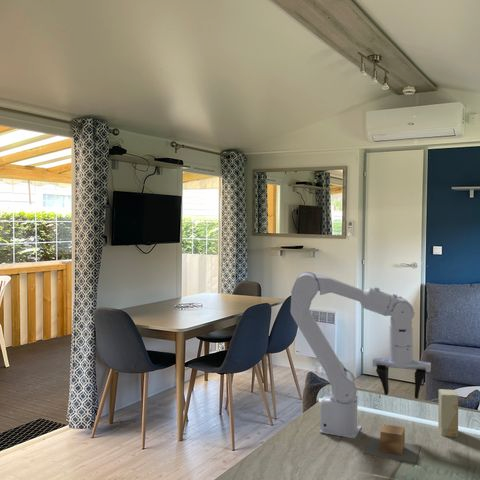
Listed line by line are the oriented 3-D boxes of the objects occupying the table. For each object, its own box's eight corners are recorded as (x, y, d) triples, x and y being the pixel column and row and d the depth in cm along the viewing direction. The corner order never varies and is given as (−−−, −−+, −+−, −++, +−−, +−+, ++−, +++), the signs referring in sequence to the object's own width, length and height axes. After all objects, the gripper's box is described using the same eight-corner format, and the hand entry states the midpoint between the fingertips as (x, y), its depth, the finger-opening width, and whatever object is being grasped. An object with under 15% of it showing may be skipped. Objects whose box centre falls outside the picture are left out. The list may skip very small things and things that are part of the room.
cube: (380, 451, 132) (380, 431, 132) (384, 443, 137) (384, 424, 136) (401, 455, 130) (401, 435, 130) (404, 447, 135) (404, 427, 134)
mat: (363, 454, 131) (363, 453, 131) (372, 439, 140) (372, 437, 140) (415, 464, 126) (415, 462, 126) (420, 447, 135) (420, 445, 135)
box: (458, 437, 141) (459, 395, 140) (440, 436, 142) (441, 394, 141) (454, 429, 146) (455, 389, 145) (437, 428, 147) (438, 388, 146)
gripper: (431, 343, 143) (432, 394, 143) (376, 338, 149) (376, 387, 149) (429, 349, 136) (429, 402, 137) (370, 344, 142) (371, 395, 143)
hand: (401, 395), depth 143 cm, fingers open, 7 cm apart
